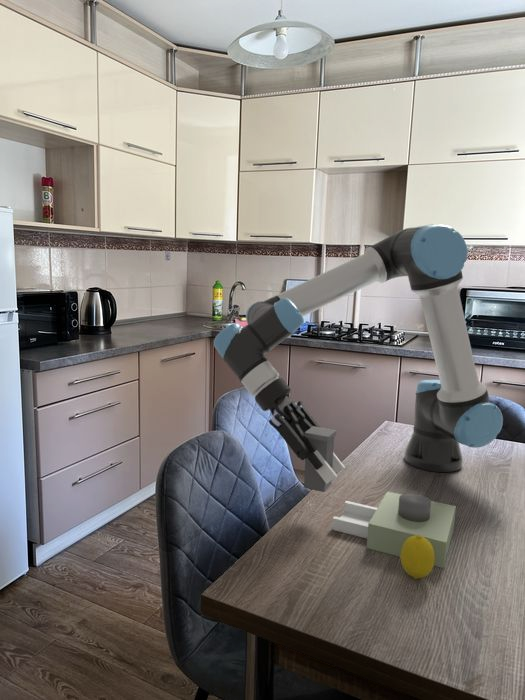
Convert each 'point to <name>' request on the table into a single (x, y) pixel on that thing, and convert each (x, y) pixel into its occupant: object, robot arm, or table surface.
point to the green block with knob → (400, 523)
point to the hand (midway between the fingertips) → (335, 475)
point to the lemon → (417, 556)
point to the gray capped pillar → (324, 444)
